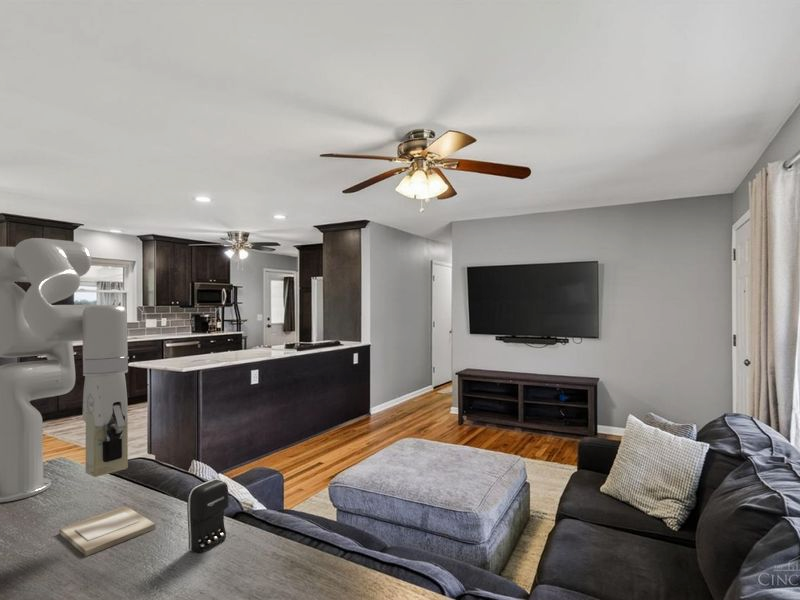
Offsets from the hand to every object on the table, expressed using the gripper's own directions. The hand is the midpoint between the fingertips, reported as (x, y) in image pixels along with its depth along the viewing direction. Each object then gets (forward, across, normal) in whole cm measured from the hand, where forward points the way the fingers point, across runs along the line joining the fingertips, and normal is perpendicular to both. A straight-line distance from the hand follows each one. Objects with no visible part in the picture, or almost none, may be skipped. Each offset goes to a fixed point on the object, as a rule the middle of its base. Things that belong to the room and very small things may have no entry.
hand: (107, 456), depth 89 cm
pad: (+15, 0, 0) cm, 15 cm away
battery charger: (+15, +22, +9) cm, 28 cm away
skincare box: (+3, 0, 0) cm, 3 cm away
